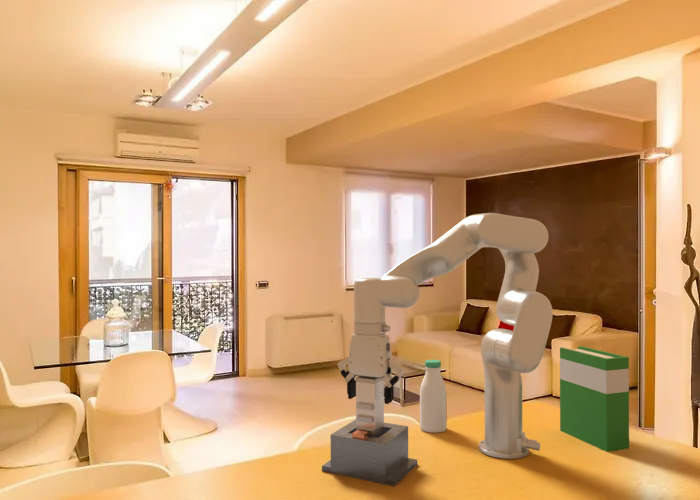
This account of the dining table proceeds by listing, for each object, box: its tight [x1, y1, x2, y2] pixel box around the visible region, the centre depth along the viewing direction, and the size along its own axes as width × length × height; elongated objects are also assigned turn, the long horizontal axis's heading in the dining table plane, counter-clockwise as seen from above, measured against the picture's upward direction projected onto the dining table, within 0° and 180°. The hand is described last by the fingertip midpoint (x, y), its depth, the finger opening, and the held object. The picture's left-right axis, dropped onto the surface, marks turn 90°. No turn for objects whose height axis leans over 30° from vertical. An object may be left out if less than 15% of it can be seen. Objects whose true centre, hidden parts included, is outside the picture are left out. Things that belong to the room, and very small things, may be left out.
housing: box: [321, 419, 418, 487], centre depth 133 cm, size 19×14×10 cm
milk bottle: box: [419, 359, 448, 434], centre depth 162 cm, size 8×8×20 cm
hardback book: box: [559, 345, 630, 453], centre depth 153 cm, size 18×7×24 cm, turn 19°
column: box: [355, 376, 385, 438], centre depth 133 cm, size 5×6×22 cm
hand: (370, 400), depth 133 cm, fingers open, 9 cm apart
